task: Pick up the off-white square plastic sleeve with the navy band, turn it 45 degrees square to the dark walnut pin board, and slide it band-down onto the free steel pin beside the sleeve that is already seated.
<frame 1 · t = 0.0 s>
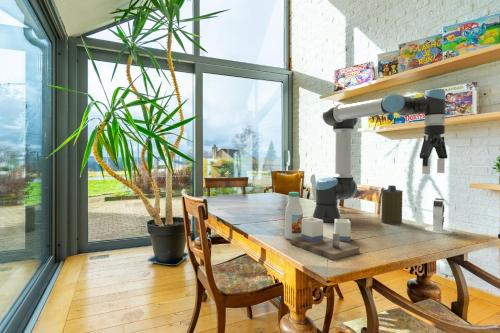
hand: (433, 173, 126), 28 cm above the table, tool pointing down, fingers open, 13 cm apart
white sleeve: (342, 239, 122), on the table
pin board: (323, 248, 110), on the table
canister: (391, 222, 153), on the table
seated sleeve: (312, 239, 115), point 2 cm above the table, touching pin board
light grey upright piece: (437, 231, 136), on the table
milk bottle: (293, 238, 124), on the table
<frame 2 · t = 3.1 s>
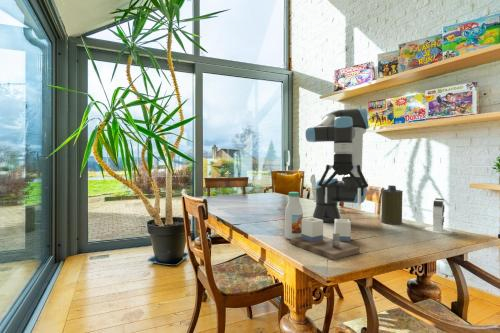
hand: (342, 203, 121), 16 cm above the table, tool pointing down, fingers open, 13 cm apart
nothing on the table moved.
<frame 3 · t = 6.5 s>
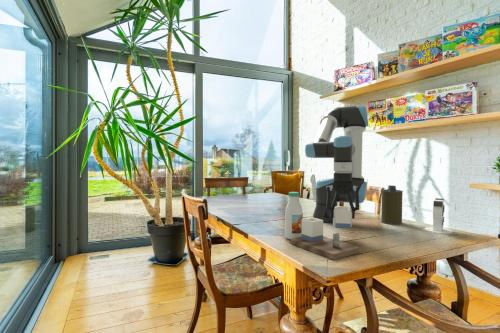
hand: (342, 225, 122), 6 cm above the table, tool pointing down, fingers closed on white sleeve, 6 cm apart
white sleeve: (342, 226, 122), point 5 cm above the table, touching gripper
everything else where it was.
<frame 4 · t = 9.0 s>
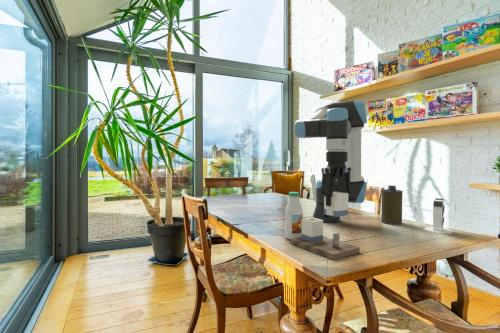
hand: (336, 213, 104), 14 cm above the table, tool pointing down, fingers closed on white sleeve, 6 cm apart
white sleeve: (335, 214, 104), point 14 cm above the table, touching gripper
everything else where it was.
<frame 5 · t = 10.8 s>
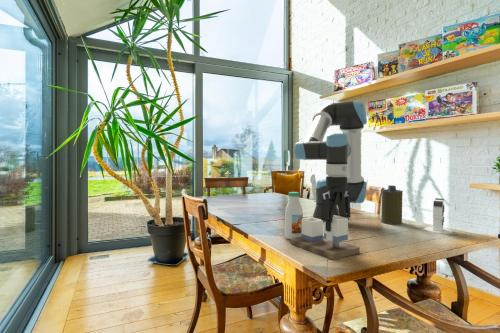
hand: (335, 238, 105), 5 cm above the table, tool pointing down, fingers closed on white sleeve, 6 cm apart
white sleeve: (335, 239, 105), point 5 cm above the table, touching gripper
everything else where it was.
when the fingers open (4 cm above the table, at t = 12.0 s): white sleeve drops 2 cm, resting on pin board.
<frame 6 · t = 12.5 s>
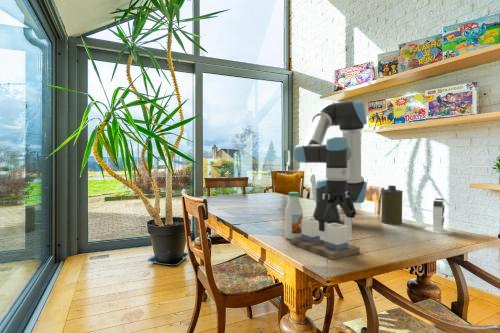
hand: (336, 237, 105), 6 cm above the table, tool pointing down, fingers open, 13 cm apart
white sleeve: (335, 246, 105), point 2 cm above the table, touching pin board
everything else where it was.
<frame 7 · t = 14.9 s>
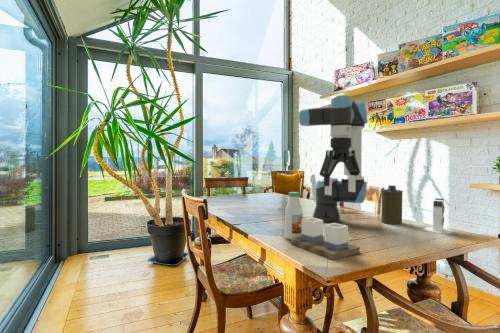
hand: (340, 193, 108), 21 cm above the table, tool pointing down, fingers open, 13 cm apart
nothing on the table moved.
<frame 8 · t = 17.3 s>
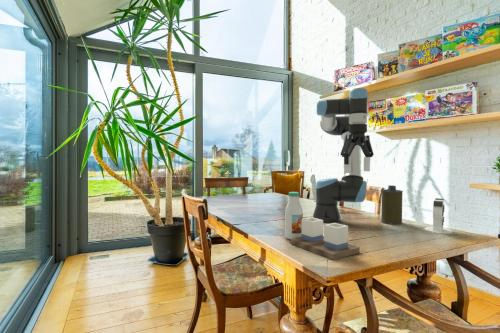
hand: (357, 171, 127), 29 cm above the table, tool pointing down, fingers open, 13 cm apart
nothing on the table moved.
at the end: white sleeve 0.1 cm from the target spot on the pin board, point 2.0 cm above the pin board's base; white sleeve tilted 0°; seated sleeve moved 0.0 cm from its start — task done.
